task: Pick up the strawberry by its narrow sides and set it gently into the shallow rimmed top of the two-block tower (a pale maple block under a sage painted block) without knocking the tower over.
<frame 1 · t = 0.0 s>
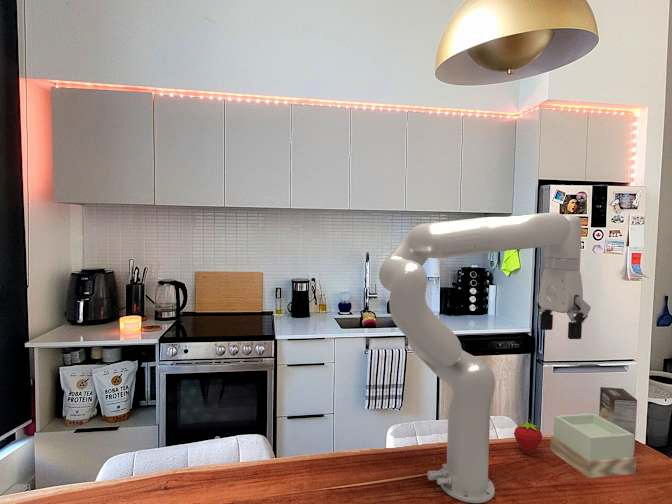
hand: (559, 334, 101), 37 cm above the table, tool pointing down, fingers open, 9 cm apart
sage top block: (591, 446, 111), point 4 cm above the table, touching maple base block
coffee box: (615, 447, 120), on the table
strawberry: (527, 454, 114), on the table
maple base block: (590, 462, 111), on the table, touching sage top block
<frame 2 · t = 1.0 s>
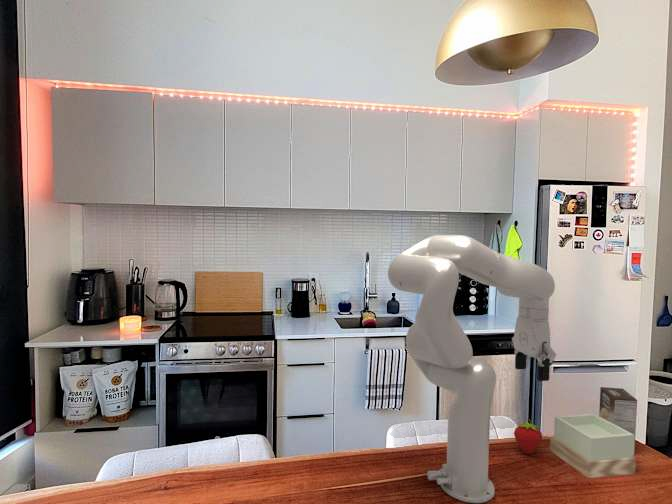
hand: (531, 374, 114), 23 cm above the table, tool pointing down, fingers open, 9 cm apart
sage top block: (591, 446, 111), point 4 cm above the table
maple base block: (590, 463, 111), on the table
everything else where it was.
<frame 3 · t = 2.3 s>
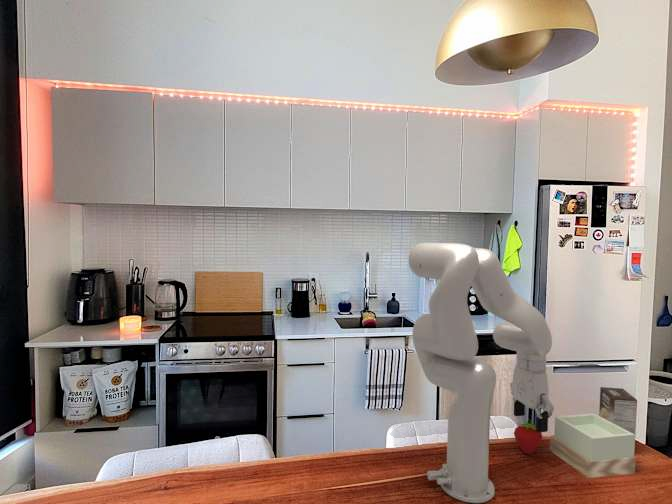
hand: (530, 423, 115), 8 cm above the table, tool pointing down, fingers open, 9 cm apart
sage top block: (592, 446, 111), point 4 cm above the table, touching maple base block
maple base block: (589, 462, 111), on the table, touching sage top block
everything else where it was.
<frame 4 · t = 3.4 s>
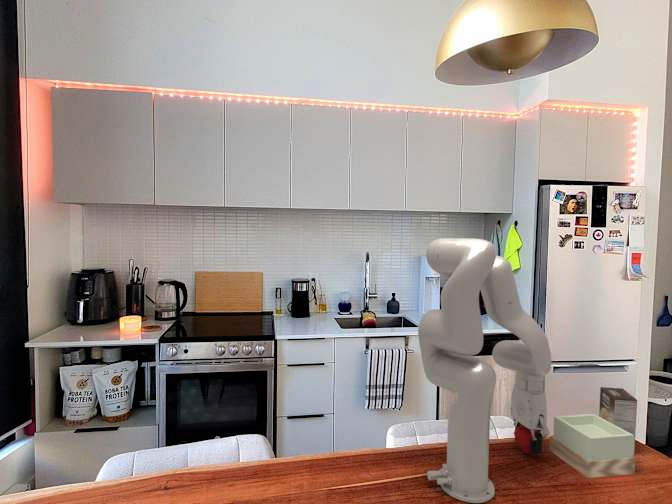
hand: (527, 446, 114), 2 cm above the table, tool pointing down, fingers closed on strawberry, 6 cm apart
strawberry: (527, 454, 114), on the table, touching gripper
everything else where it was.
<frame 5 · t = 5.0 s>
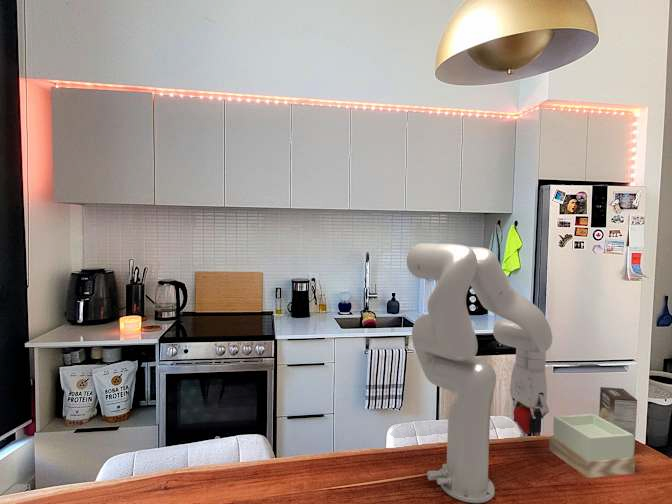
hand: (526, 426, 114), 8 cm above the table, tool pointing down, fingers closed on strawberry, 6 cm apart
strawberry: (526, 434, 114), point 6 cm above the table, touching gripper
everything else where it was.
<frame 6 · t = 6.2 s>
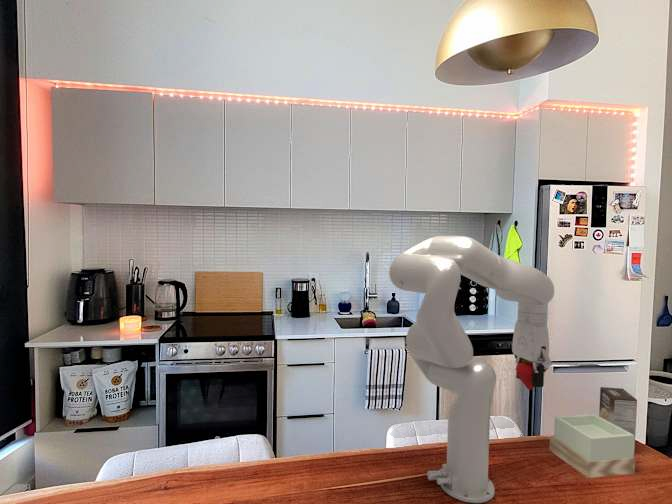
hand: (529, 381, 114), 20 cm above the table, tool pointing down, fingers closed on strawberry, 6 cm apart
strawberry: (529, 390, 114), point 18 cm above the table, touching gripper
everything else where it was.
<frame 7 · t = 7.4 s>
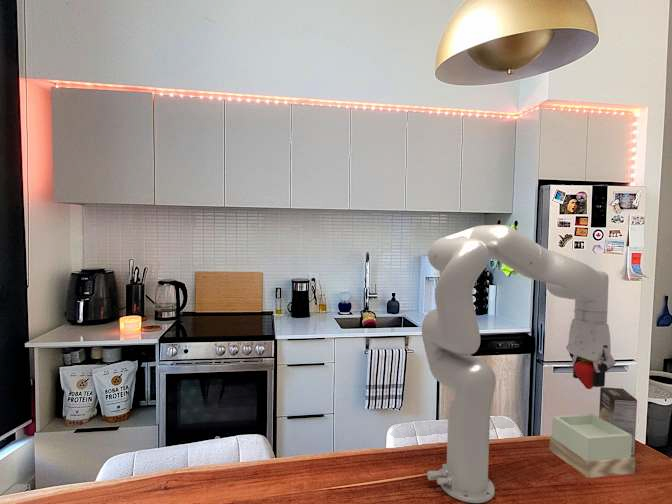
hand: (588, 381, 111), 22 cm above the table, tool pointing down, fingers closed on strawberry, 6 cm apart
strawberry: (588, 389, 111), point 20 cm above the table, touching gripper
everything else where it was.
when the fingers open (11 cm above the table, at t = 10.0 s): strawberry drops 1 cm, resting on sage top block.
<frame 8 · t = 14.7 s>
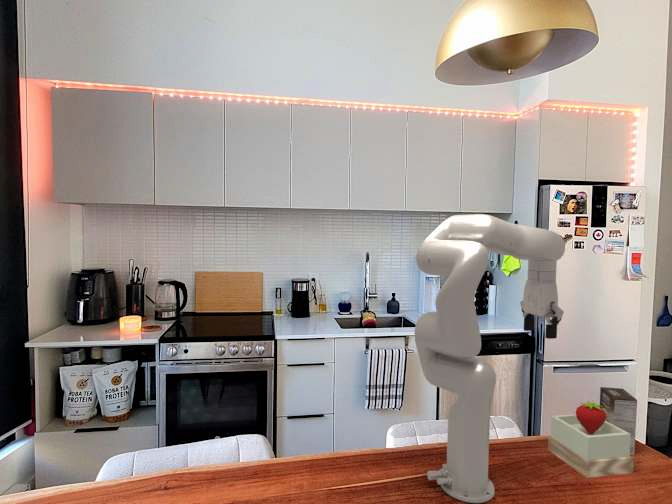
hand: (539, 334, 121), 32 cm above the table, tool pointing down, fingers open, 9 cm apart
sage top block: (588, 446, 111), point 4 cm above the table, touching strawberry, maple base block
strawberry: (589, 434, 111), point 7 cm above the table, touching sage top block
everything else where it was.
at the end: strawberry inside the target area on the sage top block (0.2 cm from its centre), point 3.3 cm above the sage top block's base; sage top block 0.2 cm from the maple base block (horizontally); sage top block tilted 0° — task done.
